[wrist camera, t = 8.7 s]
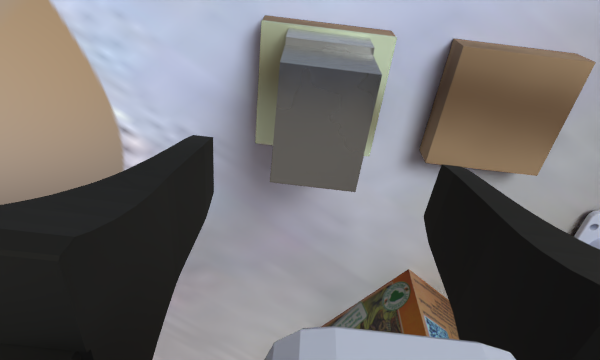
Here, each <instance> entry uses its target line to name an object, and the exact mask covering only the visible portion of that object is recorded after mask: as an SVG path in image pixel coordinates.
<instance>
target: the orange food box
mask: <svg viewBox="0 0 600 360" xmlns="http://www.w3.org/2000/svg"><path fill="white" fill-rule="evenodd" d="M332 326H335V327H345V328H354V329H363V330H372V331H382V332H391V333H400V334H410V335H419V336H428V337H437V338H447V339H456V340H459V336H458V332H457V327H456V323H455V319H454V315H453V311H452V308H451V305H450V302H449V300H448V299H446V298H445V297H444V296H443V295H441V294H440V293H439V292H437V291H436V290H435V289H434V288H432V287H431V286H430V285H428V284H427V283H426V282H425V281H423V280H422V279H421V278H419V277H418V276H417V275H416V274H414V273H413V272H412V271H410V270H409V269H408V270H407V271H405V272H404V273H402V274H401V275H399V276H398V277H396V278H395V279H393V280H392V281H390V282H389V283H387V284H386V285H384V286H382V287H381V288H379V289H378V290H376V291H375V292H373V293H372V294H370V295H369V296H367V297H366V298H364V299H363V300H361V301H360V302H358V303H357V304H355V305H354V306H352V307H351V308H349V309H348V310H346V311H345V312H343V313H342V314H340V315H338V316H337V317H335V318H334V319H332V320H331V321H329V322H328V323H326V324H325V325H323V326H322V327H332Z"/></svg>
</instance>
